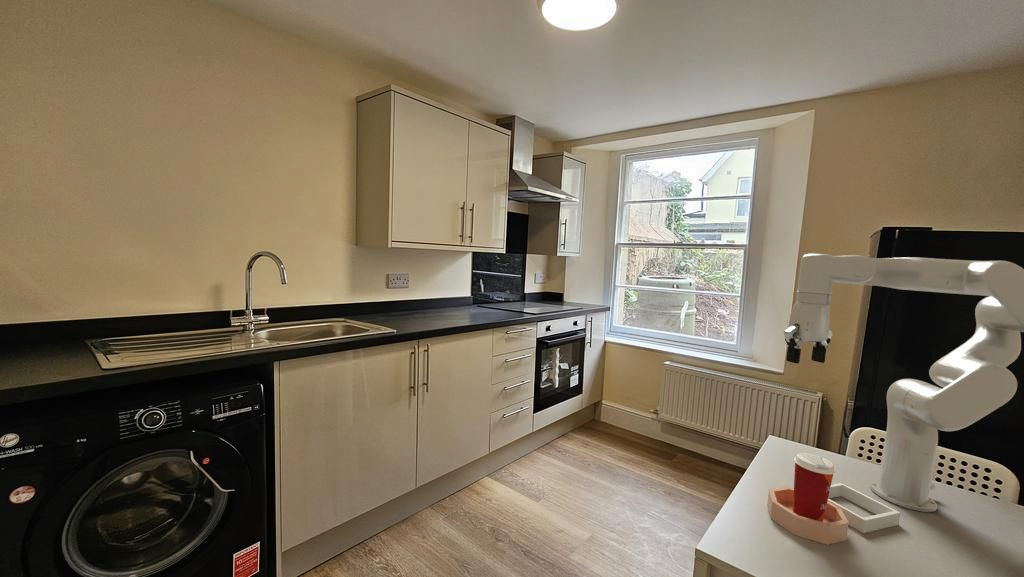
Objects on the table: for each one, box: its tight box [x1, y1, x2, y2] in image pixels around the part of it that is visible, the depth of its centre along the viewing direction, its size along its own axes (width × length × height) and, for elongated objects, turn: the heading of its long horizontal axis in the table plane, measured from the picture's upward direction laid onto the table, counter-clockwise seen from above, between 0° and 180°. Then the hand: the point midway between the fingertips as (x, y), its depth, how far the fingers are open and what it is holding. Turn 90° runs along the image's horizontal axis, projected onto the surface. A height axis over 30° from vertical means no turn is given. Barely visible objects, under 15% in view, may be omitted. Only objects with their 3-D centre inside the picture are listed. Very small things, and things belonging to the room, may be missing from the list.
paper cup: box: [793, 452, 836, 522], centre depth 92 cm, size 8×8×14 cm
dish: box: [766, 486, 849, 545], centre depth 92 cm, size 14×14×4 cm
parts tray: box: [828, 482, 901, 534], centre depth 98 cm, size 13×13×3 cm
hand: (805, 361), depth 109 cm, fingers open, 9 cm apart
